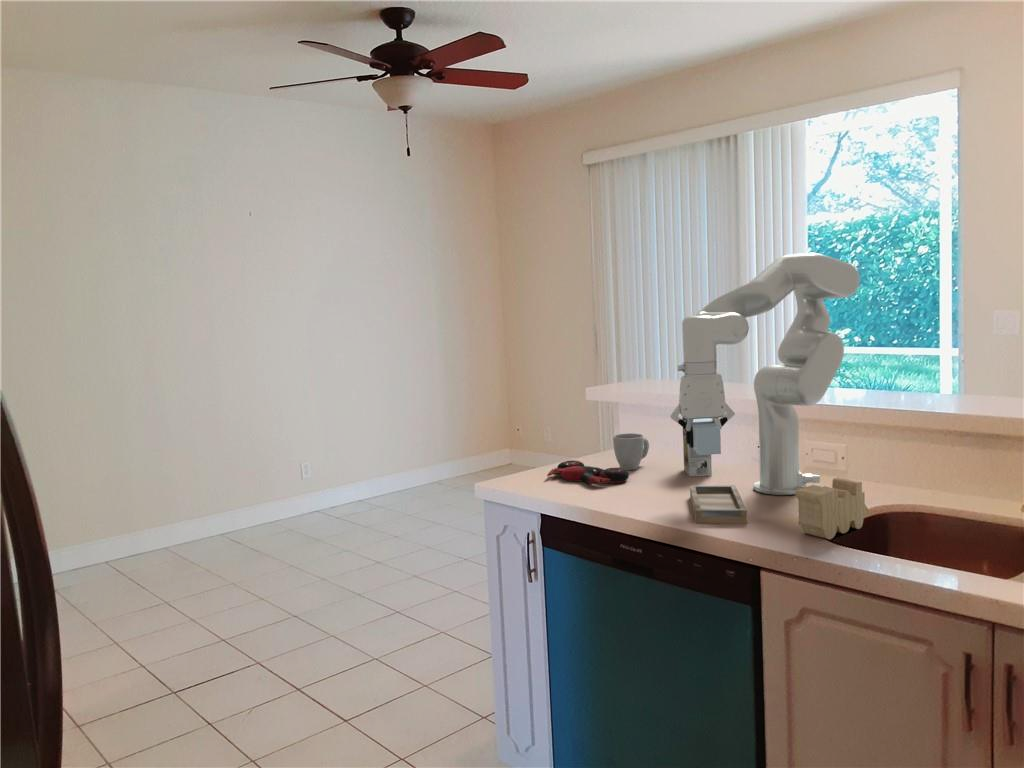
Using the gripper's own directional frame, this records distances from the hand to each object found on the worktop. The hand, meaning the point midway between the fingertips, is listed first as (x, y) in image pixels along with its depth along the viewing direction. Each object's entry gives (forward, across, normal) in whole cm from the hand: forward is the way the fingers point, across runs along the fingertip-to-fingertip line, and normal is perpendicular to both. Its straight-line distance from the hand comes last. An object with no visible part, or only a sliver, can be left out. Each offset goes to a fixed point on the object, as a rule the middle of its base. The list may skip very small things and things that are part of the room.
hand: (703, 445), depth 184 cm
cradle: (+15, +2, -2) cm, 15 cm away
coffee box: (+16, +4, +36) cm, 40 cm away
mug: (+16, -13, +46) cm, 50 cm away
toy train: (+15, +22, -21) cm, 34 cm away
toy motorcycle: (+16, -28, +33) cm, 46 cm away
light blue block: (0, 0, 0) cm, 0 cm away
